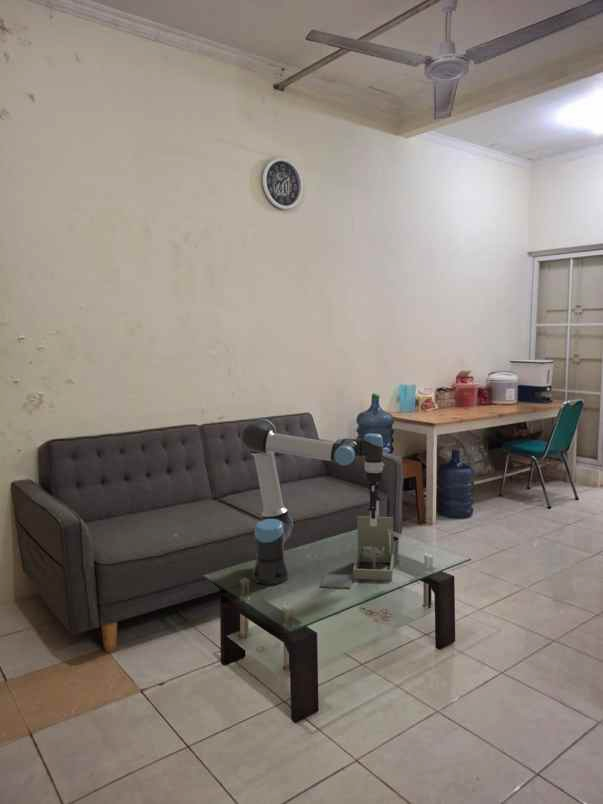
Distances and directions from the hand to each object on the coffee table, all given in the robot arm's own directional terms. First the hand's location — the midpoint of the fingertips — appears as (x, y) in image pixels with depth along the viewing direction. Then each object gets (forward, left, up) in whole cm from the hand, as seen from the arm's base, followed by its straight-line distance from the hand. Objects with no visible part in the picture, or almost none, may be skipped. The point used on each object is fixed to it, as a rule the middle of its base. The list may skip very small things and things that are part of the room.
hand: (374, 520), depth 247 cm
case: (-1, 0, -21) cm, 22 cm away
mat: (-15, -14, -21) cm, 29 cm away
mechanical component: (-1, 0, -22) cm, 22 cm away
